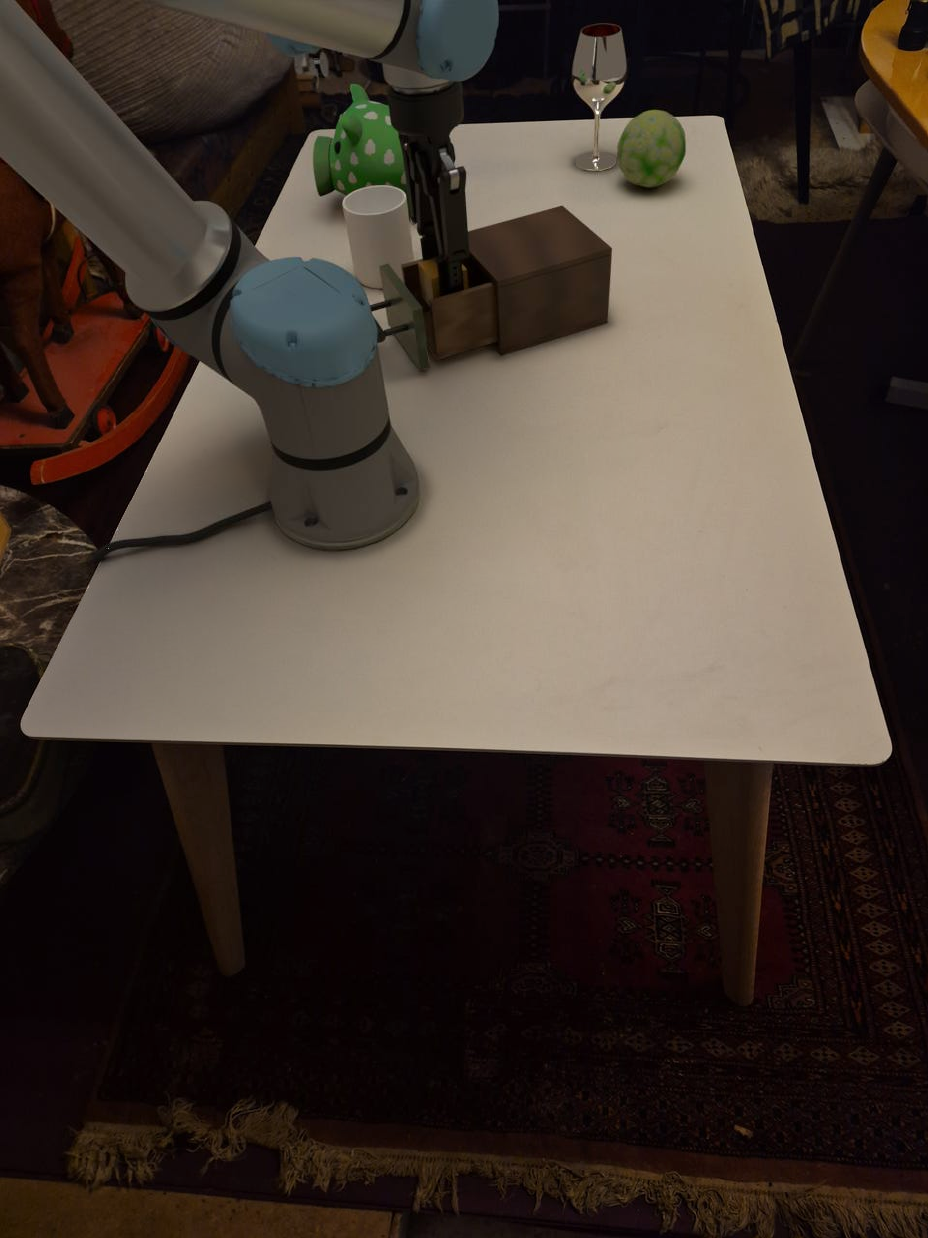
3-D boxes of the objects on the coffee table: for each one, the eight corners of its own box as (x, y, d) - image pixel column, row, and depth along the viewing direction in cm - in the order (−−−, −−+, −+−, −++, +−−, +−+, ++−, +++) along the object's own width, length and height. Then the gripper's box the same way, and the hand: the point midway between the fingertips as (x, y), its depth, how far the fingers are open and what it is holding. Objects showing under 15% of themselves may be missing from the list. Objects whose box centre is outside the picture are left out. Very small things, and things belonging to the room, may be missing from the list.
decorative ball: (684, 197, 126) (693, 124, 118) (616, 200, 127) (620, 127, 119) (679, 168, 132) (687, 96, 124) (613, 171, 133) (617, 100, 125)
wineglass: (607, 177, 132) (614, 42, 118) (560, 168, 135) (561, 36, 121) (630, 156, 136) (639, 23, 122) (583, 148, 139) (587, 18, 126)
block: (435, 314, 101) (431, 279, 97) (421, 297, 103) (417, 262, 100) (469, 304, 102) (466, 268, 98) (455, 287, 104) (452, 252, 101)
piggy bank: (334, 188, 137) (315, 83, 125) (447, 181, 135) (438, 74, 124) (321, 231, 128) (299, 122, 116) (442, 224, 126) (431, 113, 115)
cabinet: (500, 355, 103) (497, 281, 96) (460, 307, 111) (454, 234, 104) (607, 322, 106) (612, 247, 99) (561, 277, 114) (562, 204, 107)
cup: (348, 288, 116) (334, 213, 108) (371, 245, 124) (359, 172, 116) (407, 290, 115) (397, 214, 107) (427, 246, 122) (419, 172, 114)
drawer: (385, 381, 100) (375, 321, 94) (355, 334, 107) (344, 275, 101) (523, 339, 104) (522, 278, 98) (485, 296, 111) (482, 236, 105)
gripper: (494, 99, 80) (504, 325, 98) (426, 46, 90) (447, 259, 108) (419, 118, 78) (443, 343, 96) (359, 62, 89) (391, 274, 107)
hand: (445, 298), depth 102 cm, fingers closed on block, 4 cm apart
